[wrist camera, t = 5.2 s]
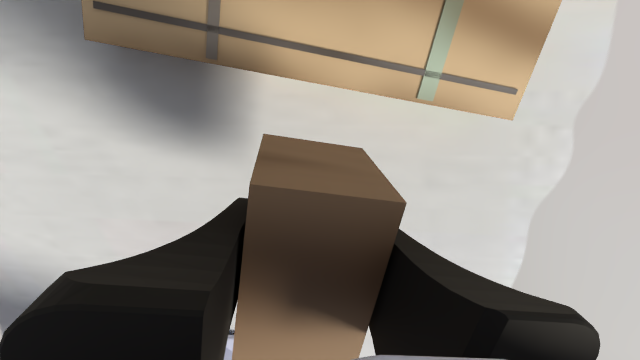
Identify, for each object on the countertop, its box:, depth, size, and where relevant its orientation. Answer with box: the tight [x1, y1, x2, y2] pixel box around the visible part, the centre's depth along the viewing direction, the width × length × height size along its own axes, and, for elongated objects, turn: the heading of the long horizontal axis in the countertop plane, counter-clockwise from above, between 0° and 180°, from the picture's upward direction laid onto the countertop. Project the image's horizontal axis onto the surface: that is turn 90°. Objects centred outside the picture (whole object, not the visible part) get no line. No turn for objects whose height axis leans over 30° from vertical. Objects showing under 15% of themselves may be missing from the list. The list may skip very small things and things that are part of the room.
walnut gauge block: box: [232, 134, 406, 360], centre depth 11 cm, size 6×4×5 cm, turn 170°
